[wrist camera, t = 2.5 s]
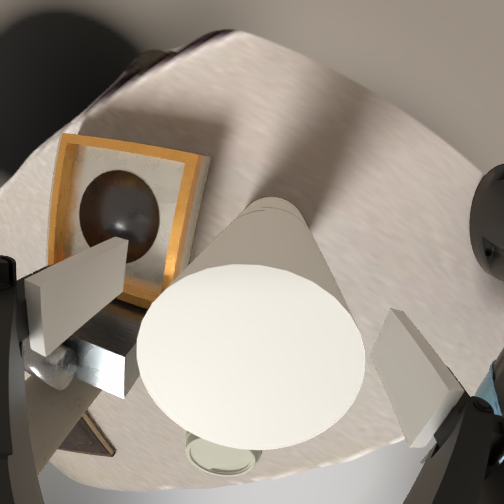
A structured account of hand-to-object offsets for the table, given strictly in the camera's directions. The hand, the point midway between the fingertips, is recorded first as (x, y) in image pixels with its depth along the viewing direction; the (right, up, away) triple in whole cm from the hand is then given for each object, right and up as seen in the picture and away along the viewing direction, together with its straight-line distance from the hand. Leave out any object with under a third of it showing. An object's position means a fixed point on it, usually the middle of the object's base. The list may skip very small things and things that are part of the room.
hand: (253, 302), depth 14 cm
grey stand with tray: (-16, +4, +20) cm, 26 cm away
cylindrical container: (+2, +5, +19) cm, 20 cm away
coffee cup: (-2, -16, +25) cm, 30 cm away
